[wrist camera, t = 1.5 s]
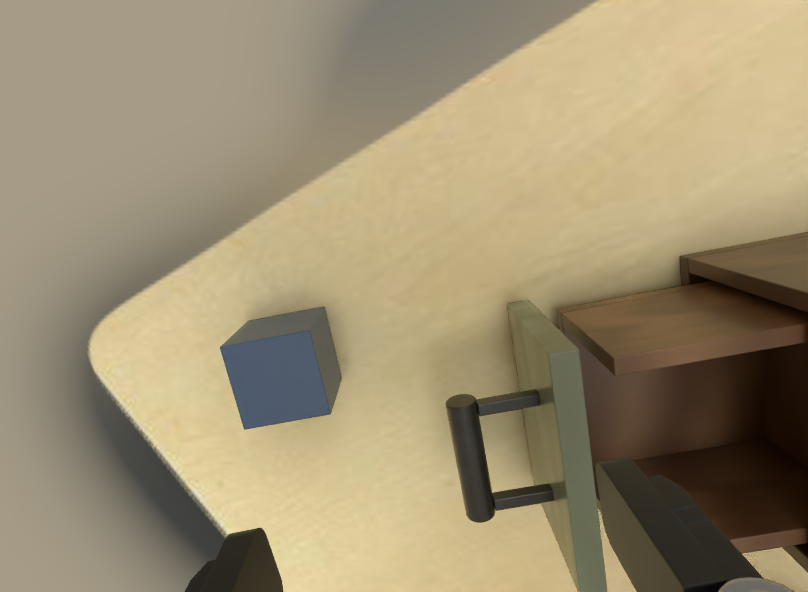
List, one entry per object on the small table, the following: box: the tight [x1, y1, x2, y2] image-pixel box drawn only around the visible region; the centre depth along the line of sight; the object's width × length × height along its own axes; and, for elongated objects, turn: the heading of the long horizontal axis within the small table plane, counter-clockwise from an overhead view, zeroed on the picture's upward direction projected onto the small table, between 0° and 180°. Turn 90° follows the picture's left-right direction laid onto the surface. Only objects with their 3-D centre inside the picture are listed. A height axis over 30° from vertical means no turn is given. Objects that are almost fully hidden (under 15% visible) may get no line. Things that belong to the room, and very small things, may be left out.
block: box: [220, 307, 342, 429], centre depth 26 cm, size 4×4×4 cm
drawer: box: [446, 280, 808, 592], centre depth 24 cm, size 18×11×8 cm, turn 101°
